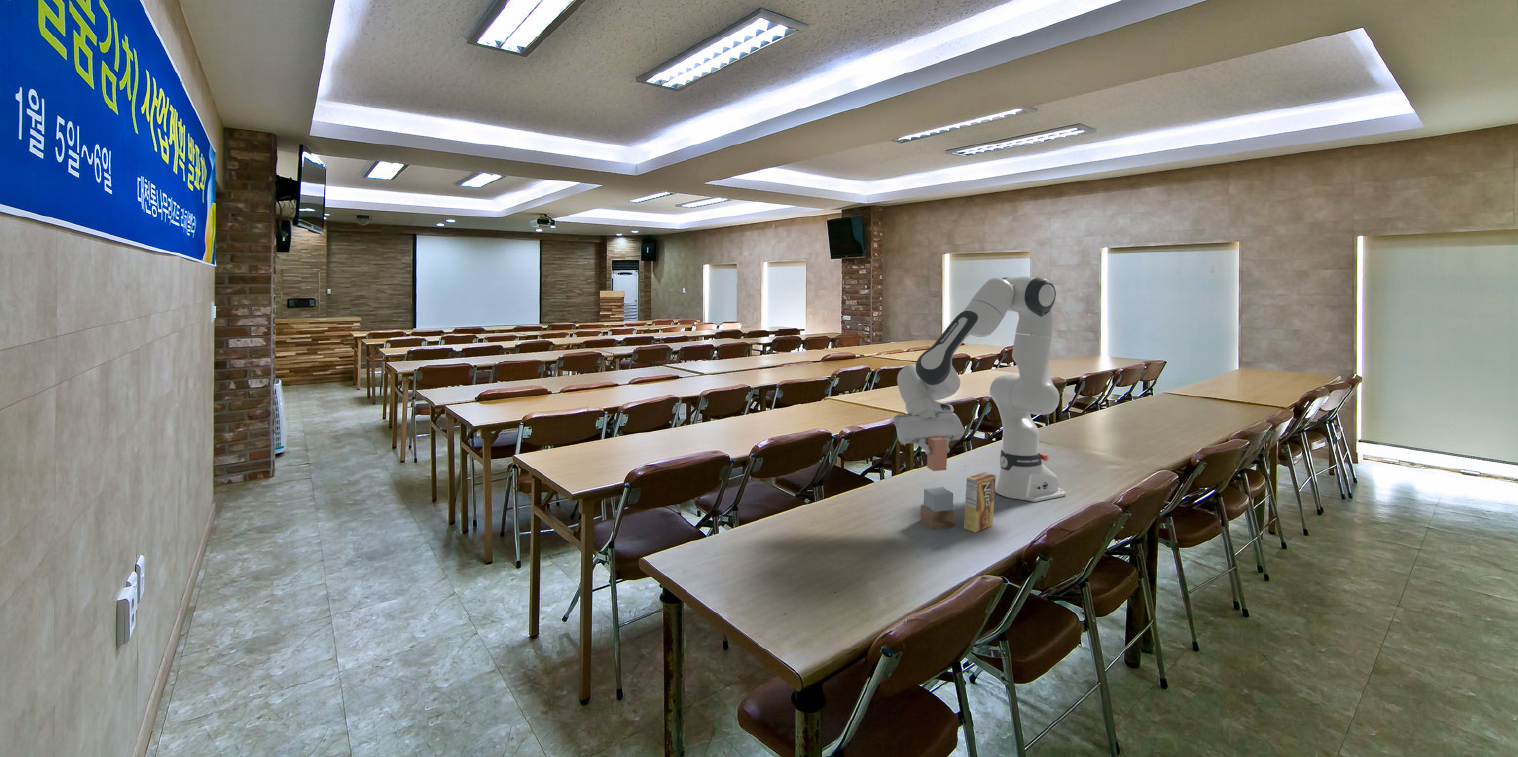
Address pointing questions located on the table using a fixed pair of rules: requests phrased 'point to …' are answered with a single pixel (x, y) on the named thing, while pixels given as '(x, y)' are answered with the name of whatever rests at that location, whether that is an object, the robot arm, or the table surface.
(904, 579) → the table surface
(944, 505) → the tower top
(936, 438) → the post
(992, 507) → the candy box
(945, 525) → the tower base
